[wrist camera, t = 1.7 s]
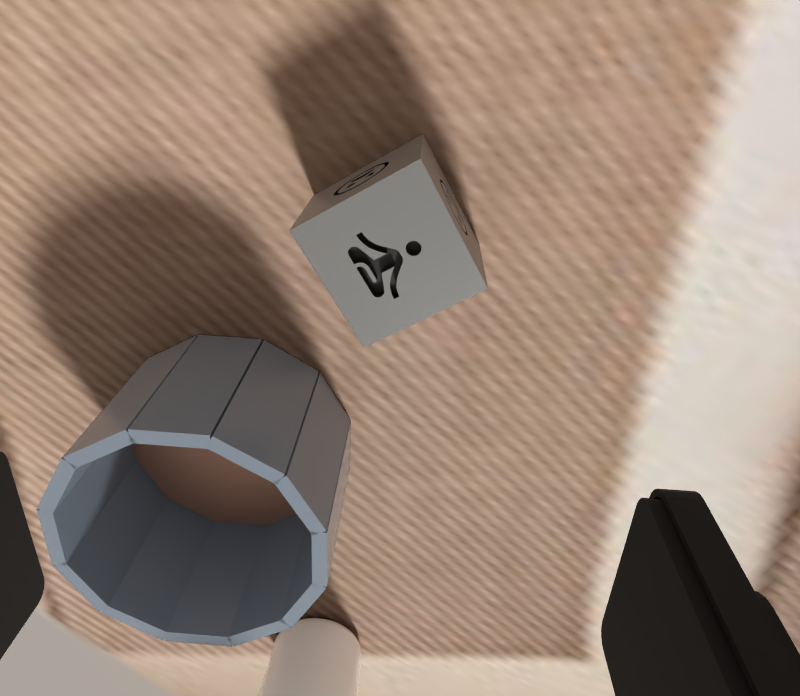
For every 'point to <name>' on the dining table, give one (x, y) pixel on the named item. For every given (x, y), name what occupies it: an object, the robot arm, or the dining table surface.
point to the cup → (204, 494)
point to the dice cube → (391, 243)
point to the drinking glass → (313, 661)
